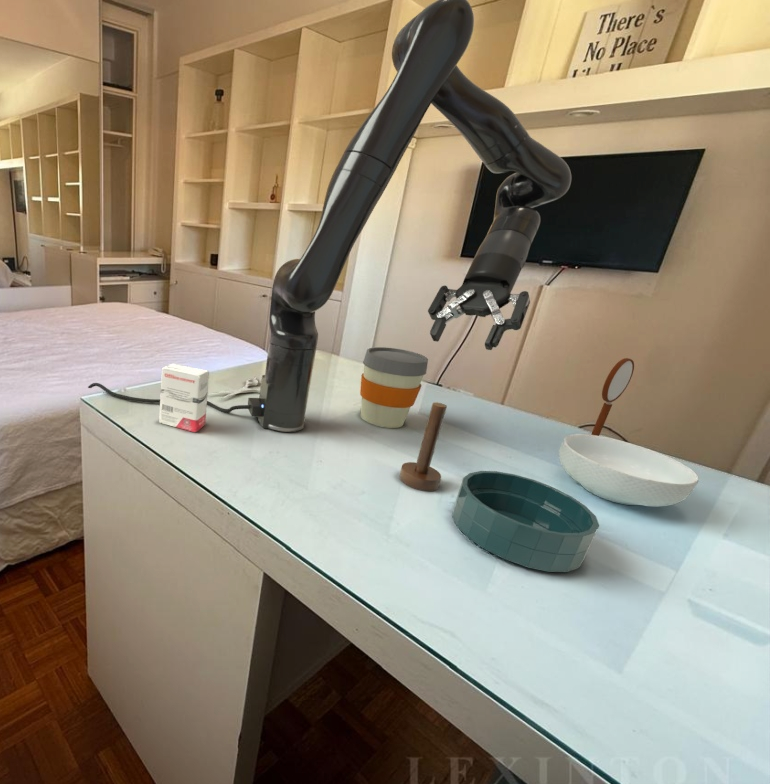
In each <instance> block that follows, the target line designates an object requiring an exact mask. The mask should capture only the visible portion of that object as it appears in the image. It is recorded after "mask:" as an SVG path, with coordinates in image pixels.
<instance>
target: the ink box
mask: <svg viewBox="0 0 770 784" xmlns="http://www.w3.org/2000/svg"><path fill="white" fill-rule="evenodd" d="M160 377H161V378H160V396H159V399H160V403H159V415H158V416H159V417H158V422H159V424H163V425H167V426H170V427H174V428H178V429H182V430H185V431H189V432H192V433H197V432H199V431H200V430H201V429H202V428H203V427H204V426H205V425H206V418H207V417H206V416H207V408H208V407H207V406H208V405H207V401H208V396H209V393H208V392H209V379H210V371H209V370H206V369H202V368H197V367H193V366H188V365H183V364H178V363H171V364H168V365H166V366H163V368H161V376H160Z"/></svg>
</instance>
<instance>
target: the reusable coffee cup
mask: <svg viewBox="0 0 770 784" xmlns="http://www.w3.org/2000/svg"><path fill="white" fill-rule="evenodd" d="M428 362H429V359H428V358H427V356H425V355H422V354H420V353H418V352H414V351H410V350H408V349H407V350H406V349H401V348H395V347H387V346H386V347H385V346H382V347H381V346H375V347H370V348H367V349H366V352H365V354H364V358H363V361H362V363H363V373H362V374H361V378H360V391H359V394H360V396H361V404H360V405H361V406H360V418H361V419H362V420H363V421H364V422H366V423H368V424H371V425H373V426H376V427H381V428H387V429H388V428H389V429H397V428H401V427H403V426H404V424H405V421H406V419H407V417H408V415H409V412H410V410H411V407H414V405H415V403H416V400H417V398H418V396H419V393H420V391H421V389H422V384H421V382H422V380H423V379H424V376H425V375H426V374H427V370H428V364H429V363H428Z"/></svg>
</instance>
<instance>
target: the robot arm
mask: <svg viewBox="0 0 770 784" xmlns="http://www.w3.org/2000/svg"><path fill="white" fill-rule="evenodd" d="M474 24H475V16H474V11H473V7H472V6H471V4H470V2H469V1H468V0H436V1H433V2H431V4H429V5H427V6H426V7H424V8H423V9H422V10H421V11H420V12H419V13H418V14H416V16H414V17H413V18H412V19H410V20H409V21H408V22H407V23H406V24H405V25H404V26H403V27H402V28H401V29H400V30H399V31H398V33H397V34H396V37H395V39H394V40H393V44H392V49H391V61H392V64H393V65H392V66H393V67H394V69H395V71H396V75H395V76H394V78H393V79H392V82H391V84H390V85H389V87H388V88H387V91H385V93H384V95H383V96H382V98H381V99H380V100H379V102H378V103H377V104H376V105H375V107H374V108H373V110H372V111H371V112H370V113H369V115H368V116H367V117H366V119H365V120H364V121H363V122H362V124H361V126H359V127H358V129H357V131H356V132H355V134H354V135H353V136H352V138H351V140H350V141H349V143H348V145H347V146H346V148H345V149H344V151H343V154H342V155H341V157H340V159H339V161H338V163H337V164H336V167H335V169H334V171H333V174H332V176H331V178H330V179H329V183H328V187H327V189H326V192H325V196H324V199H323V200H324V201H323V204H322V205H323V206H322V211H321V215H320V219H319V222H318V225H317V228H316V230H315V231H314V234H313V236H312V238H311V240H310V242H309V244H308V245H307V247H306V249H305V251H304V253H303V254H302V255H301V257H300V258H293V259H290V260H288V261H285V262H284V263H283V264H282V265H281V266H280V267H279V268H278V270H277V272H276V273H275V276H274V278H273V281H272V289H271V296H270V297H271V298H270V307H269V315H268V316H269V317H268V319H269V320H268V326H269V341H268V349H267V357H266V364H265V372H264V374H263V375H261V379H260V380H261V382H260V388H259V389H260V393H259V396H258V397H248V400H247V404H240V405H239V404H238V405H232V406H231V407H229V408H223V407H220V406H217V405H216V404H214V403H212V402H210V401H208V400H207V406H209V407H211V408H213V409H214V410H216V411H219V412H221V413H228V414H229V413H231V412H233V411H235V410H248V411H249V413H250V415H251V417H256V418H257V419H258V422H259V424H260V426H261V428H262V429H269V430H273V431H277V432H281V433H282V432H283V433H295V432H299V431H301V430H303V429H304V426H305V419H306V412H307V407H308V406H307V405H308V400H309V394H310V389H311V382H312V376H313V371H314V370H313V369H314V366H315V365H314V364H315V360H316V354H317V348H318V342H319V331H318V329H317V325H316V312H318V311H319V310H320V309H322V307H324V306H325V305H326V304H327V302H328V301H329V300H330V298H331V297H332V295H333V292H334V291H335V289H336V286H337V284H338V282H339V279H340V277H341V274H342V272H343V269H344V268H345V265H346V262H347V260H348V258H349V256H350V253H351V251H352V249H353V247H354V245H355V243H356V242H357V240H358V238H359V236H360V235H361V233H362V231H363V229H364V228H365V226H366V225H367V223H368V221H369V218H370V217H371V215H372V213H373V211H374V209H376V208H375V207H376V206H377V204H378V203H379V201H380V199H381V197H382V196H383V195H384V192H385V190H386V188H387V187H388V185H389V183H390V181H391V180H392V177H393V176H394V175H395V172H396V170H397V169H398V166H399V164H400V162H401V161H402V158H403V157H404V155H405V153H406V151H407V149H408V147H409V146H410V143H411V142H412V140H413V138H414V136H415V134H416V133H417V130H418V128H419V126H420V125H421V122H422V120H423V118H424V117H425V115H426V113H427V111H428V109H429V108H430V106H431V105H432V106H433V107H434V108H435V109H436V110H437V111H439V113H440V114H442V115H443V116H444V117H445V119H447V120H448V121H449V123H451V125H452V126H453V127H454V128H455V129H456V130H457V131H458V132H459V133H460V135H462V137H463V138H464V139H465V140H466V142H467V143H468V145H470V147H471V148H472V150H473V151H474V152H475V154H476V155H477V157H479V159H480V160H481V162H482V163H483V165H484V166H485V167H486V168H487V169H488V170H489V171H490V172H491V173H493V174H505V173H511V172H512V174H510V175H509V176H507V177H506V178H505V179H504V180H503V182H502V183H501V184H500V185H499V186H498V188H497V192H496V196H495V207H494V214H493V221H492V223H491V225H490V227H489V229H488V231H487V234H486V235H485V238H484V239H483V241H482V242H481V244H480V245H479V247H478V249H477V251H476V253H475V255H474V258H473V259H472V262H471V264H470V266H469V268H468V270H467V273H466V274H465V277H464V279H463V282H462V284H461V286H459V287H458V288H457V289H452V288H448V285H441V286H440V287H439V289H438V292H437V293H436V295H435V296H434V298H433V300H432V302H431V304H430V306H429V307H428V309H427V313H428V315H429V317H430V319H431V320H432V321H433V324H432V326H431V328H430V331H429V334H430V337H431V339H432V341H433V342H440V339H441V337H442V335H443V334H444V330H445V329H446V327H447V323H449V322H451V321H452V320H454V319H457V318H460V317H461V316H463V315H464V314H465V316H477V317H481V318H486V317H488V316H491V318H492V320H493V323H494V324H493V325H492V326H491V328H490V331H489V333H488V335H487V337H486V339H485V342H484V347H485V349H486V350H487V351H492V350H493V348H497V347H498V346H499V344H500V342H501V340H502V339H503V335H504V333H505V332H506V331H508V330H509V331H510V330H513V331H519V330H520V329H522V326H523V323H524V321H525V318H526V315H527V313H528V310H529V306H530V304H531V298H530V294H529V291H527V290H522V291H521V292H519V293H512V291H513V289H514V287H515V285H516V282H517V280H518V278H519V275H520V273H521V271H522V269H523V268H524V267H525V265H526V260H527V259H528V256H529V251H530V248H531V245H532V244H533V241H534V238H535V236H536V235H537V232H538V231H539V229H540V228H539V227H540V225H541V215H540V213H539V212H538V211H537V210H536V209H535V208H537V207H539V206H542V205H546V204H548V203H551V202H555V201H556V200H559V199H561V198H562V197H563V196H565V195H566V194H567V193H568V191H569V189H570V187H571V184H572V173H571V169H570V167H569V165H568V164H567V162H566V161H565V159H563V158H562V157H560V156H559V155H558V154H556V153H555V152H553V151H552V150H551V149H550V148H548V147H546V146H544V145H543V144H542V143H540V141H537V140H535V138H533V137H531V135H530V133H528V131H527V129H526V128H525V126H524V125H523V124H522V122H521V121H520V120H519V118H518V117H517V116H516V114H515V112H513V111H512V110H511V108H510V107H509V106H507V104H505V103H504V102H502V100H500V99H499V98H497V97H495V96H494V95H492V94H491V93H489V92H487V91H486V90H484V89H482V88H481V87H479V85H477V84H475V83H474V82H473V81H471V80H470V79H469V77H467V76H466V74H464V73H463V71H462V70H461V69H460V68H459V66H458V63H459V62H460V60H461V59H462V57H463V56H464V54H465V52H466V50H467V48H468V47H469V44H470V42H471V39H472V36H473V32H474V26H475V25H474ZM513 172H514V173H513ZM453 298H456V299H454V300H452V299H453ZM451 300H452V301H451ZM447 303H448V304H447ZM510 303H512V307H513V308H514V309H513V311H512V313H511V316H510V318H505V317H504V316H503V314H502V311H501V309H502V308H503V307H505V306H506V305H508V304H510ZM446 304H447V306H446ZM445 306H446V307H445ZM458 307H459V308H458ZM94 387H98V388H100V389H101V390H102V391H104V392H106V393H107V394H108V395H111V396H113V397H115V398H119V399H124V400H128V401H133V402H138V403H147V404H149V403H150V404H160V398H159V399H158V398H157V399H154V398H142V397H141V398H140V397H134V396H129V395H125V394H121V393H117V392H114V391H112V390H110V389H109V388H107V387H106V386H105V385H104V384H101V383H100V382H93V383H91V384H90V385H87V388H88V389H92V388H94Z"/></svg>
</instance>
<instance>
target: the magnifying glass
mask: <svg viewBox="0 0 770 784" xmlns="http://www.w3.org/2000/svg"><path fill="white" fill-rule="evenodd" d="M634 370H635V362H634V360H633V359H632V358H628V357H625V358H622V359H620V360H618V362H617V363H616V364H615V365H613V367H612V369H611V370H610V371H609V373H608V375H607V376H606V379H605V381H604V384H603V386H602V389H601V398H602V400H603V401H604V403H603V404H602V407H601V409H600V412H599V414H598V417H597V419H596V422H595V424H594V426H593V428H592V431H591V433H590V435H596V436H601V433H602V430H603V428H604V425H605V423H606V422H607V418H608V417H609V413H610V411H611V409H612V407H613V404H612V403H613V402H614V401H616V400H618V399H619V398H620V397H621V396H622V394H623V393H624V392H625V390H626V389H627V387H628V386H629V384H630V382H631V379H632V377H633V374H634Z"/></svg>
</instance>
